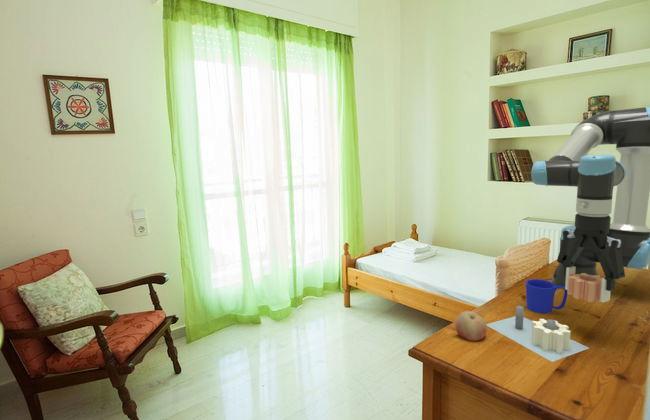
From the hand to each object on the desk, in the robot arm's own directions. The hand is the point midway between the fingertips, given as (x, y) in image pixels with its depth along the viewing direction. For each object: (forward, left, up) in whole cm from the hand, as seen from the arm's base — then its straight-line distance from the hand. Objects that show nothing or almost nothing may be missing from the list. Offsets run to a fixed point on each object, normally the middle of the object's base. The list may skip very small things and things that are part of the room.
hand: (586, 294), depth 97 cm
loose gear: (0, 0, 0) cm, 0 cm away
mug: (-5, -15, -13) cm, 21 cm away
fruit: (+28, -13, -13) cm, 34 cm away
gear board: (+13, -5, -13) cm, 19 cm away
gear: (+13, 0, -11) cm, 17 cm away
